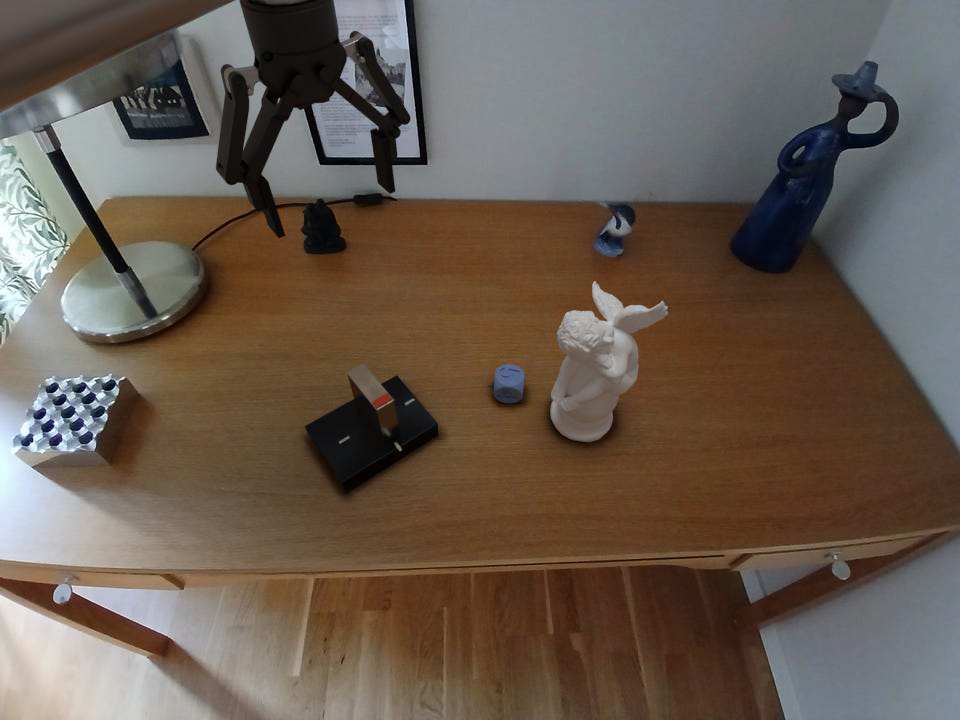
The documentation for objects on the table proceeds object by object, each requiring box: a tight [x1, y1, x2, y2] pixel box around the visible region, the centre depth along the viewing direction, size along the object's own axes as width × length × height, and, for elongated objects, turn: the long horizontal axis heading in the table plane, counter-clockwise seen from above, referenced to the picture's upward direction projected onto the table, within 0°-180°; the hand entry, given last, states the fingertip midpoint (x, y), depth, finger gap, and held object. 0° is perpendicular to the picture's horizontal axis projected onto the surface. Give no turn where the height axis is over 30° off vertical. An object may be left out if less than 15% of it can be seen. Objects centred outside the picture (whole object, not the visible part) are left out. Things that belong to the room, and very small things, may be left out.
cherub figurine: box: [549, 280, 669, 443], centre depth 69 cm, size 12×12×22 cm
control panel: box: [304, 374, 439, 494], centre depth 73 cm, size 14×11×3 cm
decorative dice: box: [493, 363, 526, 404], centre depth 78 cm, size 4×4×4 cm
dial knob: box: [346, 363, 400, 444], centre depth 69 cm, size 7×2×8 cm, turn 38°
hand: (334, 208), depth 62 cm, fingers open, 13 cm apart
